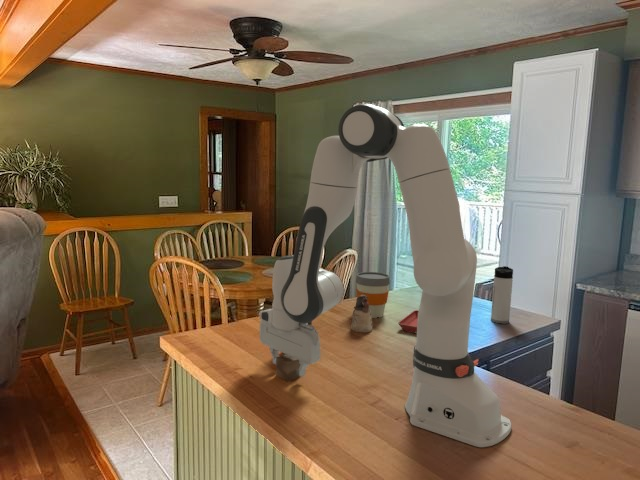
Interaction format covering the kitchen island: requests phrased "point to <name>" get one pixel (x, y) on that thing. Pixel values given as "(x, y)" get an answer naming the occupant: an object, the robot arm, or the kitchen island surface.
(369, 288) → the reusable coffee cup
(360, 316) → the figurine
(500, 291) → the travel mug
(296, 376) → the grey block
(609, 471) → the kitchen island surface
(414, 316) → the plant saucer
